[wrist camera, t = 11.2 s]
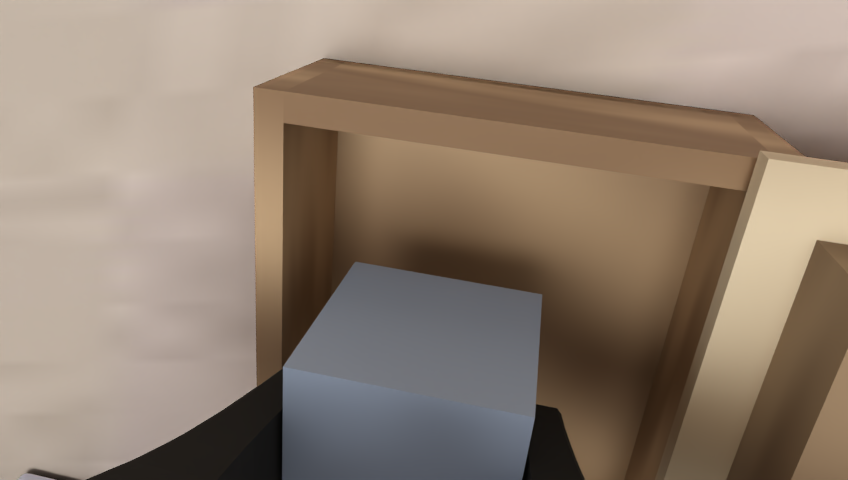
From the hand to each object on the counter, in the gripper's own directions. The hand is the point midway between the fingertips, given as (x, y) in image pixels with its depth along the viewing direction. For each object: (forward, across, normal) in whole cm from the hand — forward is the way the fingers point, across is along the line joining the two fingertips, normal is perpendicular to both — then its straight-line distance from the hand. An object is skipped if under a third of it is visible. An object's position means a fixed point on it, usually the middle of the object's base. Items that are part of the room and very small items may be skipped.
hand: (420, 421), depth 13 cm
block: (+2, 0, 0) cm, 2 cm away
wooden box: (+5, -1, 0) cm, 5 cm away
